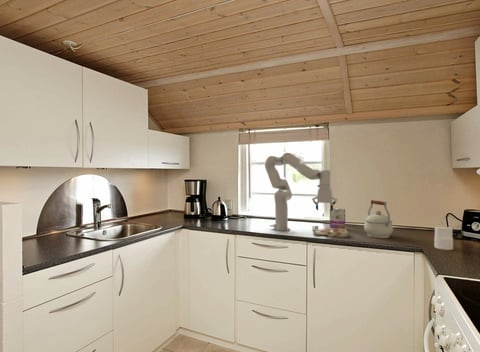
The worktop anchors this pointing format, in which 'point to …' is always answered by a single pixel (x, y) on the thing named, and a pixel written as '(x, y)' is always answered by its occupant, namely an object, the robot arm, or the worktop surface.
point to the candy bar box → (337, 218)
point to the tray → (317, 231)
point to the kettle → (378, 223)
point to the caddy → (338, 233)
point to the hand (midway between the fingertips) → (324, 210)
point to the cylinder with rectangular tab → (443, 238)
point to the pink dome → (324, 230)
